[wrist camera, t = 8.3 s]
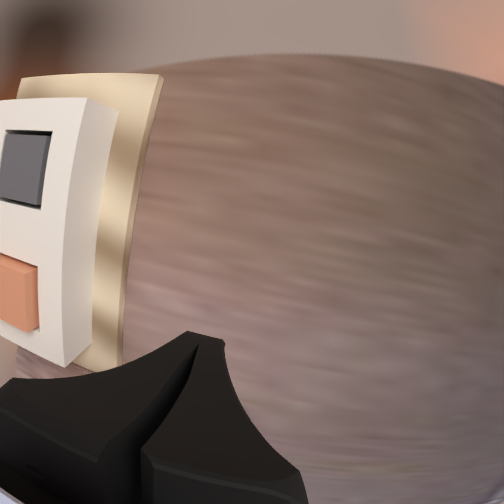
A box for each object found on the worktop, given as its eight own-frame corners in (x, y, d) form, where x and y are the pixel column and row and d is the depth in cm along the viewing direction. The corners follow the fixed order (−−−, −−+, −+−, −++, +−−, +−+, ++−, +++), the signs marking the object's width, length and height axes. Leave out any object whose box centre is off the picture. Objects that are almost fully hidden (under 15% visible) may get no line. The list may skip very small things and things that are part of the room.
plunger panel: (91, 342, 21) (64, 367, 17) (14, 309, 21) (-16, 326, 18) (118, 111, 18) (87, 97, 14) (30, 109, 18) (-5, 101, 14)
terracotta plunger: (60, 311, 20) (27, 332, 16) (23, 296, 20) (-10, 313, 16) (60, 259, 19) (24, 273, 15) (22, 246, 19) (-14, 258, 15)
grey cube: (72, 200, 19) (36, 204, 15) (33, 192, 19) (-3, 196, 15) (82, 142, 18) (46, 136, 14) (42, 138, 18) (5, 134, 14)
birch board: (121, 373, 23) (116, 379, 22) (8, 324, 23) (1, 328, 22) (163, 79, 18) (159, 74, 17) (29, 80, 18) (21, 78, 18)
